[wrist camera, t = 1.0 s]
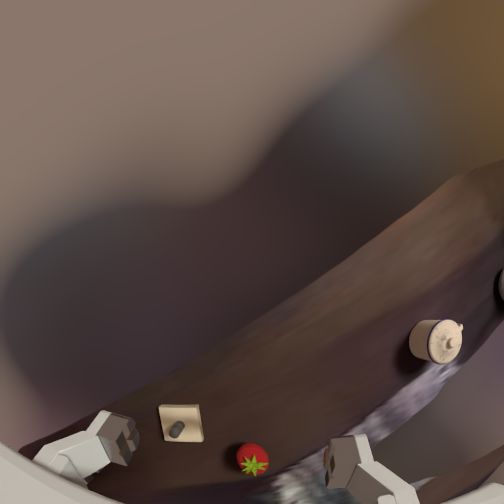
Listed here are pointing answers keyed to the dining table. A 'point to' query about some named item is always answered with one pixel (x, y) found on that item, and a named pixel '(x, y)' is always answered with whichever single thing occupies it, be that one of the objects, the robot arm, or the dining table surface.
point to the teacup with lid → (436, 340)
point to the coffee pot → (501, 284)
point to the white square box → (88, 479)
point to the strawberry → (252, 458)
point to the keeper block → (181, 423)
